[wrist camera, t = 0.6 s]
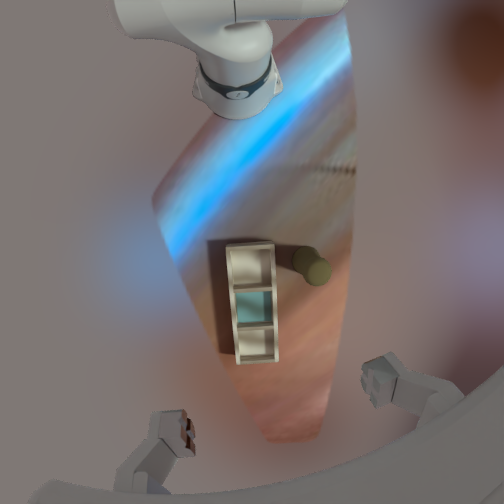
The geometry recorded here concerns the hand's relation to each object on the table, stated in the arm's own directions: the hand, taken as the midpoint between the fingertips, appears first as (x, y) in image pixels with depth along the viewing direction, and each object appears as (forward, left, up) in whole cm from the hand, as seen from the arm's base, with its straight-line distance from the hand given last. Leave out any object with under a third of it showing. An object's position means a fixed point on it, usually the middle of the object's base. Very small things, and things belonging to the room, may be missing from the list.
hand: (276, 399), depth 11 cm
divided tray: (+13, -1, -46) cm, 48 cm away
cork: (+5, +11, -46) cm, 48 cm away
